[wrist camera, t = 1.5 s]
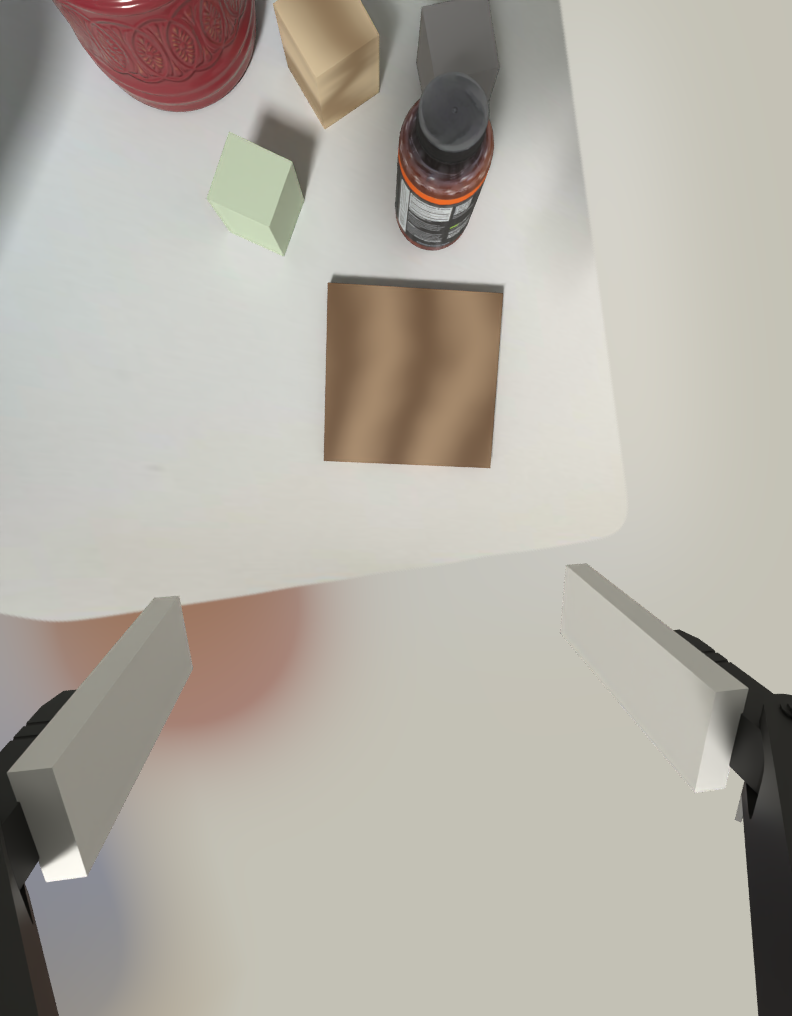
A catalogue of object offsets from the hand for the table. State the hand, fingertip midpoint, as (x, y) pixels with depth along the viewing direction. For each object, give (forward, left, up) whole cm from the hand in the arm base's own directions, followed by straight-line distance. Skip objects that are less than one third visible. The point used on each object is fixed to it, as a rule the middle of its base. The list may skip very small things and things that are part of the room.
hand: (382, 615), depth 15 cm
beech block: (-5, +33, -24) cm, 41 cm away
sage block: (-10, +23, -24) cm, 35 cm away
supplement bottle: (+3, +24, -24) cm, 34 cm away
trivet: (+2, +11, -24) cm, 27 cm away
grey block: (+4, +33, -24) cm, 41 cm away
